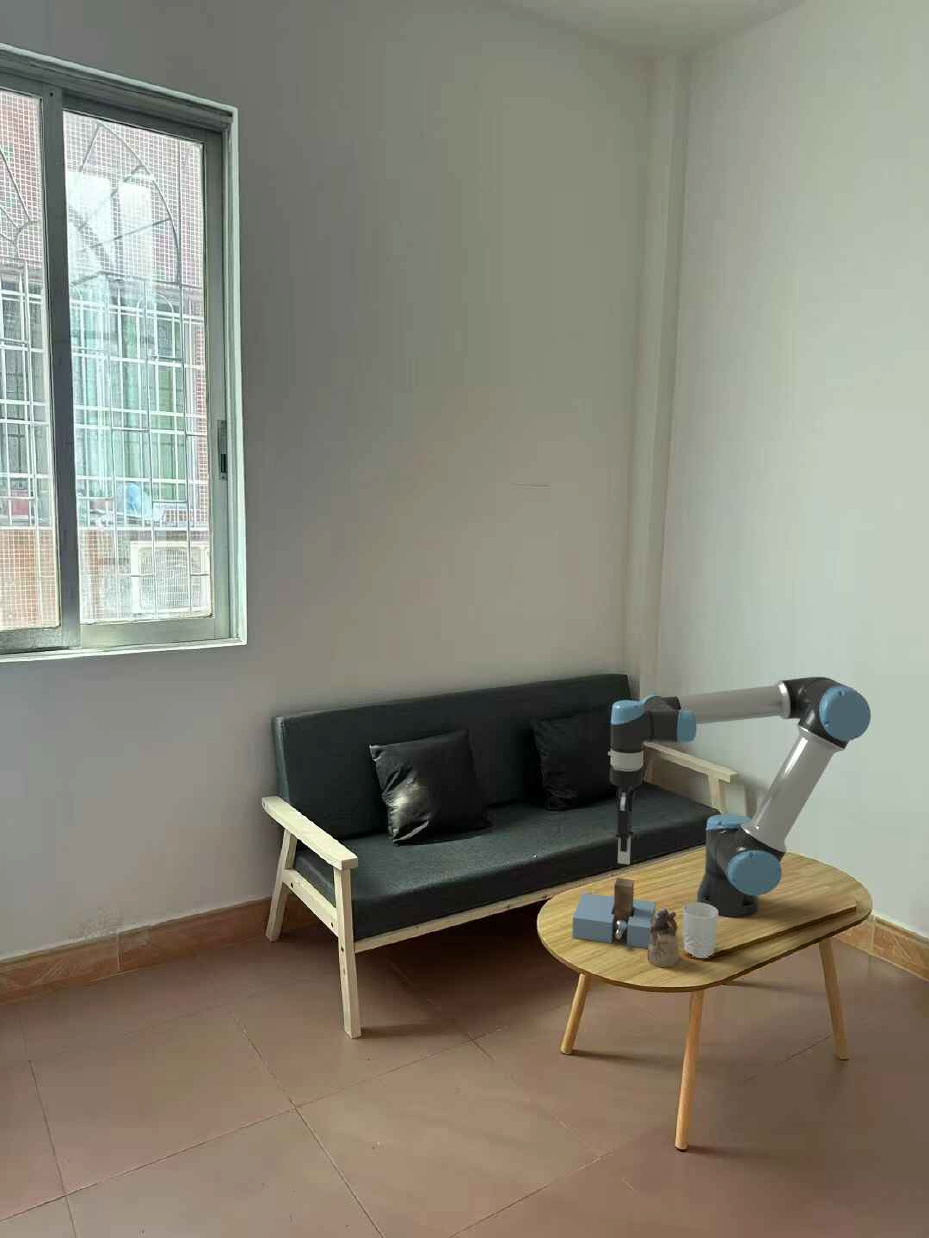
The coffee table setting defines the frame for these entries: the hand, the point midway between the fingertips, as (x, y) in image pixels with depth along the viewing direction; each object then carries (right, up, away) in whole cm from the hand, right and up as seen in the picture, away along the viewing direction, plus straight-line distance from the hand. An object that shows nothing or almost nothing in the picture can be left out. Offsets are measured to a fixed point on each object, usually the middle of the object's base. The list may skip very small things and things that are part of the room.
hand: (623, 862), depth 212 cm
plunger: (-2, -16, -3) cm, 17 cm away
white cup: (+16, -19, -8) cm, 26 cm away
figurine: (+7, -19, -12) cm, 23 cm away
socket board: (-2, -17, +3) cm, 17 cm away
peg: (0, -17, +3) cm, 17 cm away
